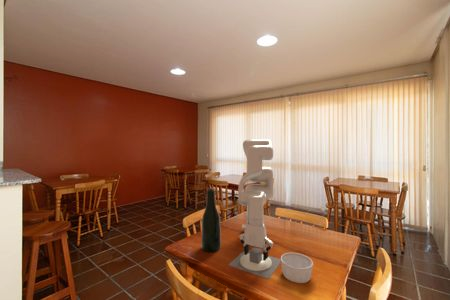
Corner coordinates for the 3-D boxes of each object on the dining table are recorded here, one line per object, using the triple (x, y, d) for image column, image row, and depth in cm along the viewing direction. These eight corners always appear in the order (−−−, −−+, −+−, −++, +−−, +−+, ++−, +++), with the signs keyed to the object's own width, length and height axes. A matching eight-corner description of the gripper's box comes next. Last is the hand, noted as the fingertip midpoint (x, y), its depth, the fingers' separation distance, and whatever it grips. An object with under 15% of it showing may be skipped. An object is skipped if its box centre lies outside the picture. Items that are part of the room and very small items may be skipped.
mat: (228, 265, 100) (228, 265, 100) (245, 249, 116) (245, 249, 116) (268, 279, 90) (268, 278, 90) (282, 260, 105) (282, 259, 105)
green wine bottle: (198, 251, 114) (198, 189, 114) (205, 242, 125) (205, 186, 124) (217, 254, 112) (217, 190, 111) (223, 245, 122) (222, 186, 121)
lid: (234, 265, 100) (234, 252, 100) (248, 251, 113) (248, 240, 113) (264, 275, 92) (264, 261, 92) (276, 259, 105) (276, 247, 105)
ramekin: (317, 275, 93) (317, 259, 93) (305, 290, 83) (305, 272, 83) (288, 264, 102) (288, 249, 102) (274, 276, 92) (274, 260, 92)
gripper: (235, 219, 104) (236, 255, 104) (270, 226, 94) (270, 265, 95) (243, 215, 110) (243, 248, 110) (275, 221, 101) (276, 257, 101)
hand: (255, 256), depth 103 cm, fingers open, 9 cm apart
